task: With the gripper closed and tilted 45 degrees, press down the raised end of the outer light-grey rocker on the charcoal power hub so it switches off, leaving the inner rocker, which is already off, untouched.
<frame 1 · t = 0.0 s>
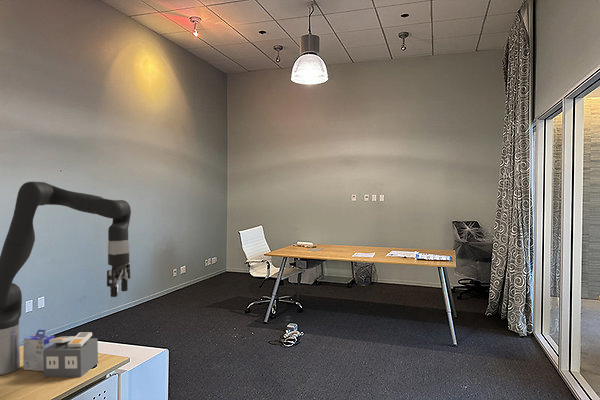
hand: (119, 293, 153), 29 cm above the table, tool pointing down, fingers open, 8 cm apart
power hub: (71, 369, 153), on the table
ink cartridge box: (39, 368, 155), on the table
inner rocker: (62, 339, 153), point 12 cm above the table, hinge at -12.0°
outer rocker: (80, 339, 153), point 12 cm above the table, hinge at 12.0°
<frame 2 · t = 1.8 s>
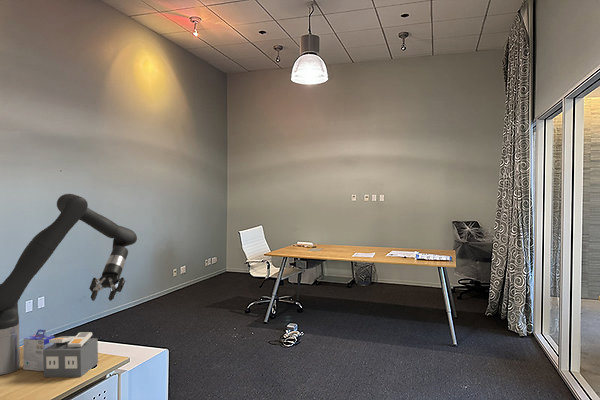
hand: (101, 299, 169), 23 cm above the table, tool tilted 45°, fingers open, 7 cm apart
nothing on the table moved.
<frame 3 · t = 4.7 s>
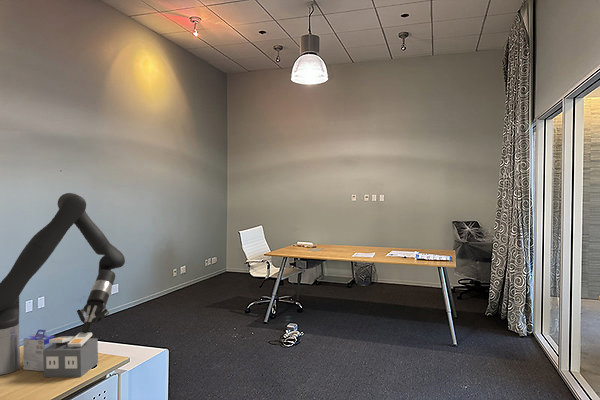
hand: (85, 332, 156), 13 cm above the table, tool tilted 45°, fingers closed
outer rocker: (80, 339, 153), point 12 cm above the table, hinge at 10.3°, touching gripper
everything else where it was.
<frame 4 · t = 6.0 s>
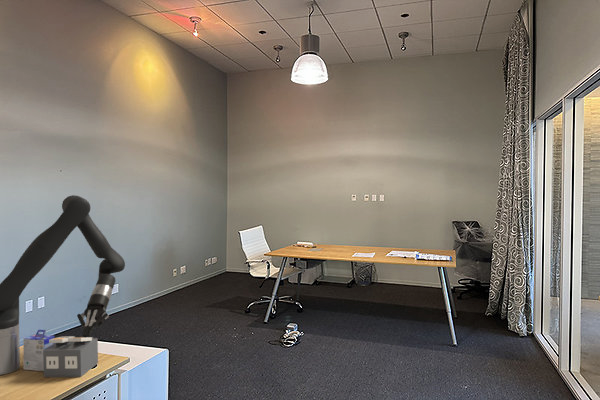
hand: (85, 336, 157), 12 cm above the table, tool tilted 45°, fingers closed
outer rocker: (80, 339, 153), point 12 cm above the table, hinge at -18.4°, touching gripper, power hub
everything else where it was.
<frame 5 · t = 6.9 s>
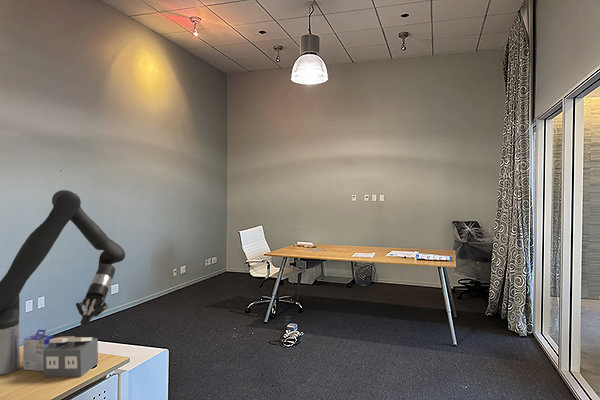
hand: (83, 325, 156), 16 cm above the table, tool tilted 45°, fingers closed
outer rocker: (80, 339, 153), point 12 cm above the table, hinge at -18.4°, touching power hub
everything else where it was.
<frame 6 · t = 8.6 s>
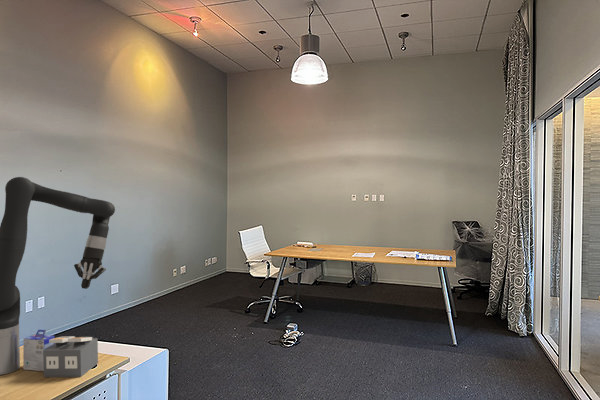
hand: (84, 288, 165), 29 cm above the table, tool tilted 15°, fingers closed
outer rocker: (80, 339, 153), point 12 cm above the table, hinge at -16.6°
everything else where it was.
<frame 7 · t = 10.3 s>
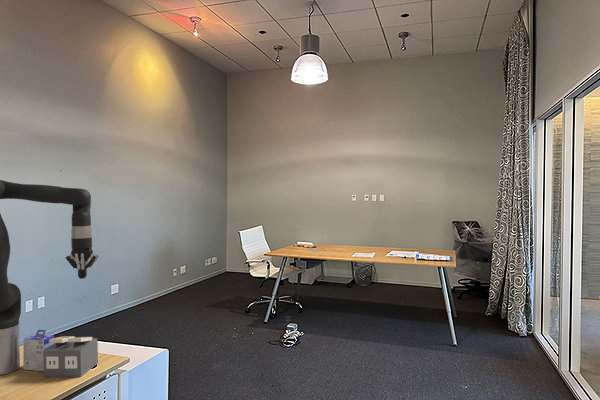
hand: (82, 278, 165), 33 cm above the table, tool pointing down, fingers closed
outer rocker: (80, 339, 153), point 12 cm above the table, hinge at -16.1°
everything else where it was.
at the end: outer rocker at -16° (first picture: +12°); inner rocker at -12° (first picture: -12°); ink cartridge box moved 0.2 cm from its start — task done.
